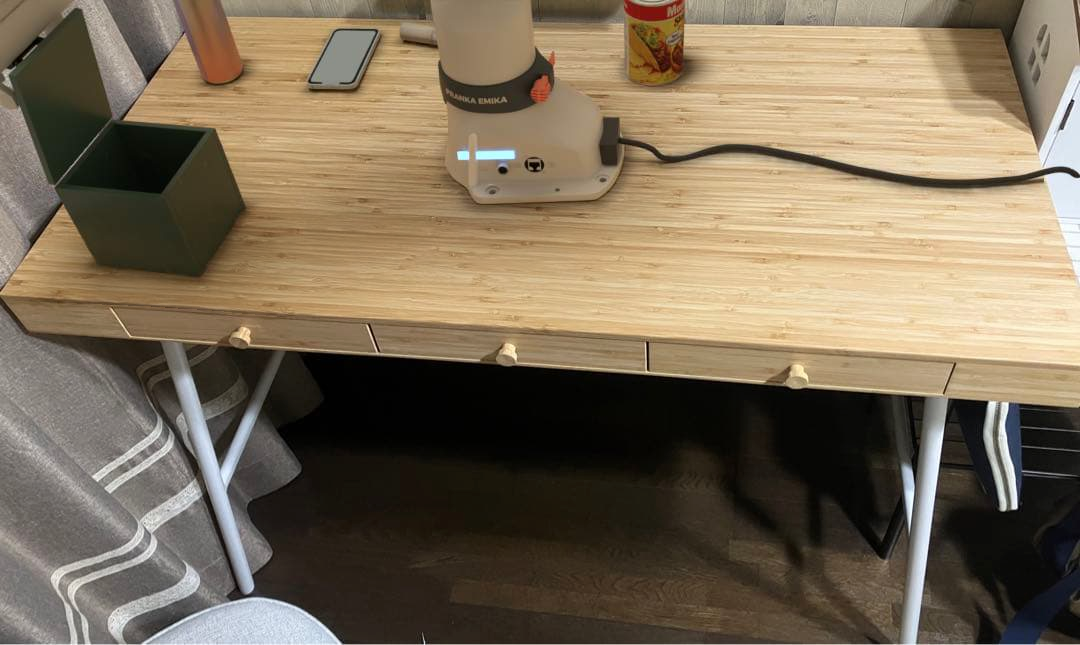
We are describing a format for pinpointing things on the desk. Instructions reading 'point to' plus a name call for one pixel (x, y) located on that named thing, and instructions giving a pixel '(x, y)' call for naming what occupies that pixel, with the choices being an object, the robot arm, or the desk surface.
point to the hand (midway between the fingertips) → (38, 80)
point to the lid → (61, 94)
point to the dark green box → (153, 197)
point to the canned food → (654, 40)
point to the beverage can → (210, 39)
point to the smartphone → (344, 58)
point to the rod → (418, 33)
